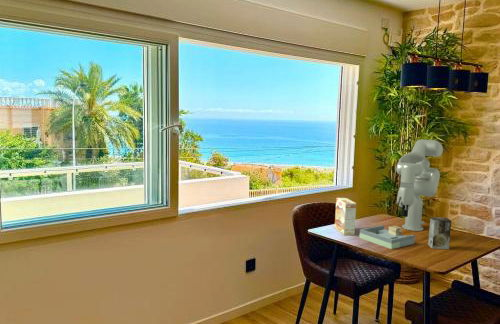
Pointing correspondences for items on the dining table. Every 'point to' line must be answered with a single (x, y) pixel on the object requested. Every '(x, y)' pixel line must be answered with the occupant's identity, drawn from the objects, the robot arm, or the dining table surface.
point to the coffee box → (439, 233)
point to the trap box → (385, 237)
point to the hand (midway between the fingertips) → (404, 216)
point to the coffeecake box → (345, 216)
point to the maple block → (395, 230)
